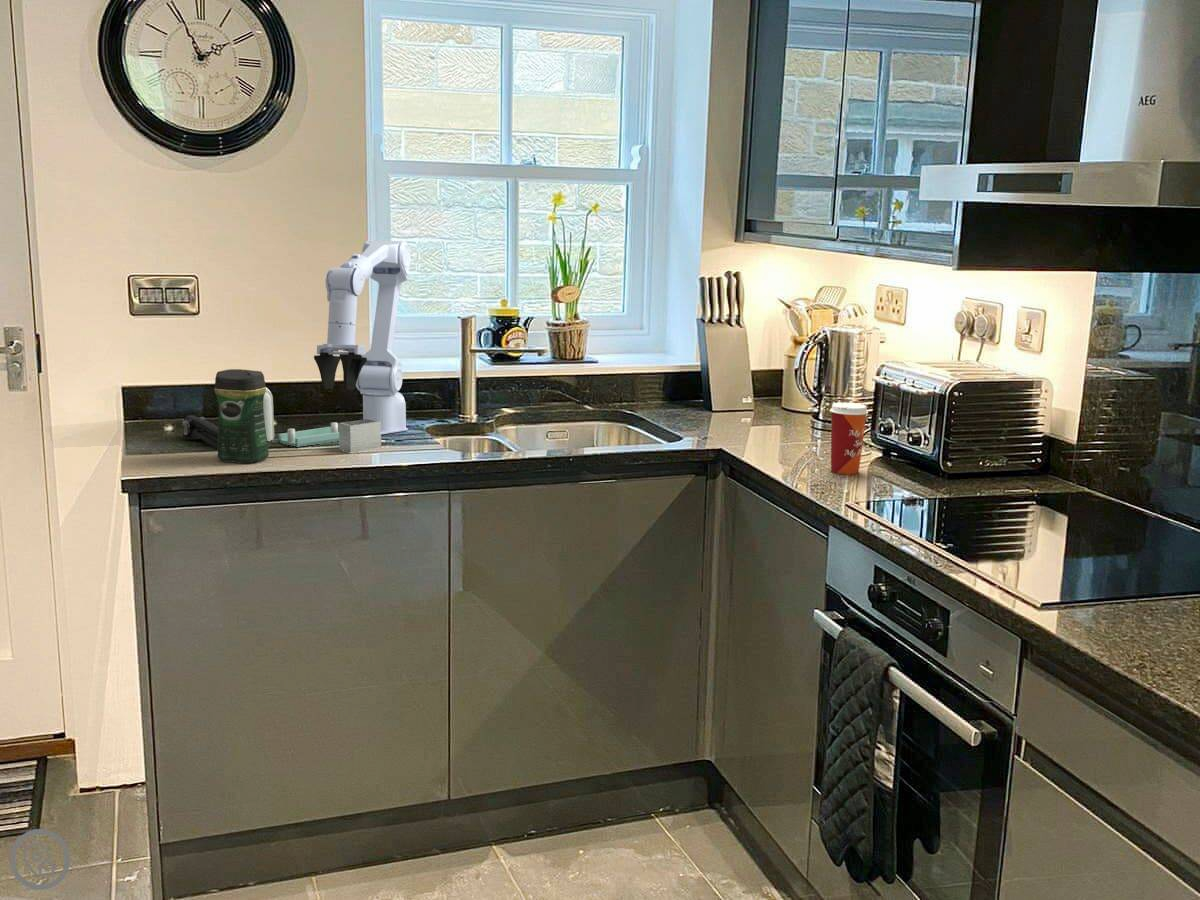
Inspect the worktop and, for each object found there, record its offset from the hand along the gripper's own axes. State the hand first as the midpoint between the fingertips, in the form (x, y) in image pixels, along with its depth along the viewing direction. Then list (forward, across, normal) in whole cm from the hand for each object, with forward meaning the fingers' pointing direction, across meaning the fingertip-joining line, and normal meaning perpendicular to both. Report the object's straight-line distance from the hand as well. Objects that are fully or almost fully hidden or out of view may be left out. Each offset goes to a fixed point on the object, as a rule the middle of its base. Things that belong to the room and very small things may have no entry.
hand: (338, 389), depth 245 cm
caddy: (+12, -13, +4) cm, 18 cm away
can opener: (+14, -27, -14) cm, 33 cm away
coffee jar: (+16, -7, -17) cm, 24 cm away
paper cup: (+11, +82, +68) cm, 107 cm away
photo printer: (+12, -24, -3) cm, 27 cm away
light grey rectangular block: (+13, 0, +7) cm, 14 cm away
